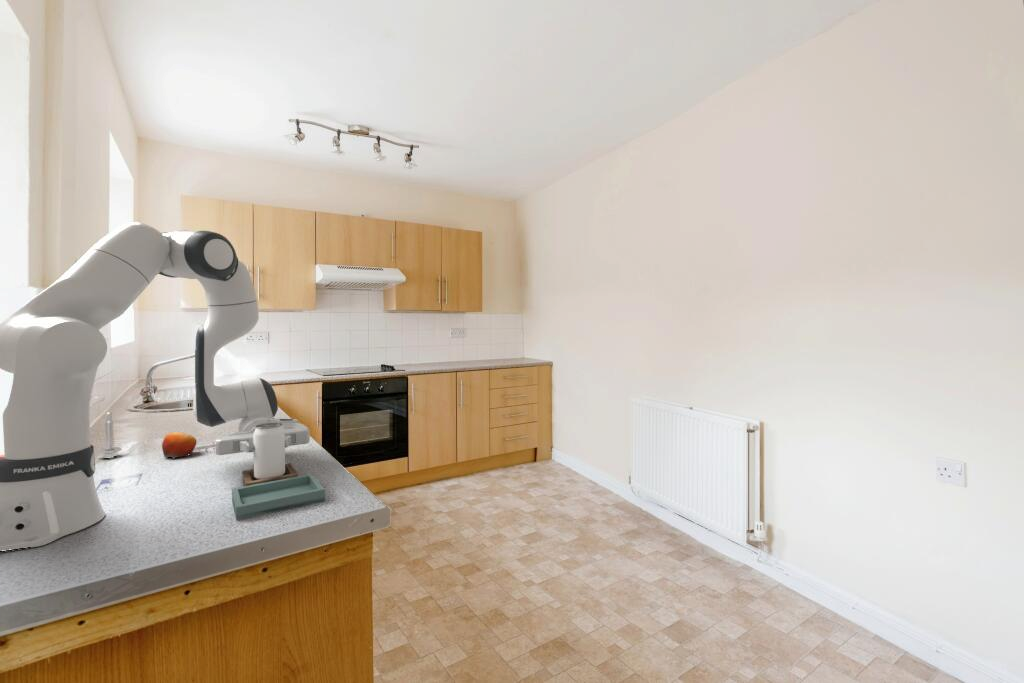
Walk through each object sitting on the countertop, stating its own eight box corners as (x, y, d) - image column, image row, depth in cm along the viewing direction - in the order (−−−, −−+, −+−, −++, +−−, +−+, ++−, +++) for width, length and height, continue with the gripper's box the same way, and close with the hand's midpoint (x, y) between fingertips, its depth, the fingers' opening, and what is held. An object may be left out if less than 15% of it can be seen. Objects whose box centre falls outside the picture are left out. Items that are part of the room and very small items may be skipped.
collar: (246, 494, 99) (246, 483, 99) (242, 481, 107) (242, 471, 107) (298, 484, 105) (298, 474, 105) (290, 472, 113) (290, 463, 113)
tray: (236, 520, 86) (236, 507, 86) (232, 500, 96) (231, 488, 95) (325, 500, 95) (324, 489, 95) (312, 484, 105) (312, 473, 105)
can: (272, 481, 102) (271, 428, 102) (247, 479, 103) (246, 427, 103) (291, 472, 108) (290, 422, 108) (267, 470, 110) (266, 421, 109)
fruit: (147, 456, 123) (161, 428, 127) (171, 463, 130) (184, 436, 134) (170, 458, 121) (184, 429, 125) (194, 465, 128) (206, 438, 132)
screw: (120, 458, 127) (97, 461, 124) (122, 454, 130) (100, 457, 128) (118, 412, 126) (95, 414, 123) (120, 409, 130) (98, 411, 127)
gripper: (212, 427, 110) (214, 439, 98) (303, 418, 122) (314, 427, 110) (212, 453, 110) (214, 467, 99) (303, 441, 122) (314, 453, 110)
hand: (268, 446), depth 105 cm, fingers closed on can, 6 cm apart
